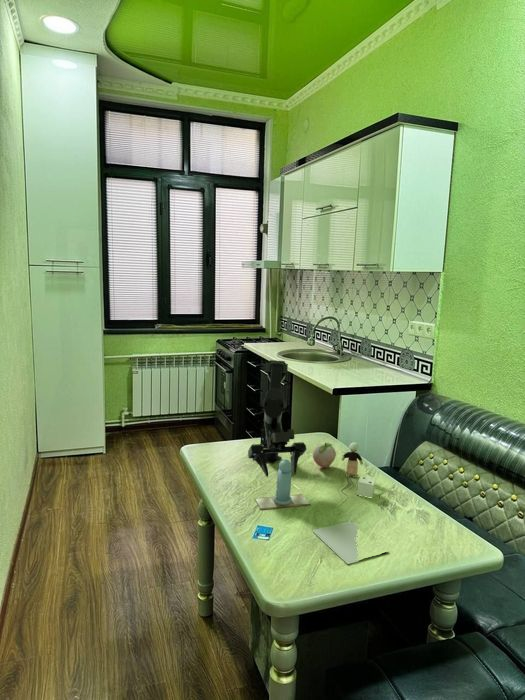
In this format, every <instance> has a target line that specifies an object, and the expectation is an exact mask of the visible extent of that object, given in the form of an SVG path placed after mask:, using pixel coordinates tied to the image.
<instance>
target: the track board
mask: <svg viewBox="0 0 525 700" xmlns="http://www.w3.org/2000/svg"><path fill="white" fill-rule="evenodd" d="M290 497H291V498H292V501H291V504H289V505H285V506H283V505H278V504H276V503H275V502H274V496H269V497H255V498H253V499H254V501H255V503H256V505H257V506H258V507H259V510H260V511H264V510H265V511H266V510H274V509H275V510H276V509H285V508H296V507H298V508H299V507H305V506H311V503H310V502H309V501H308V499H307V498H306V497H305V495H304V494H303V493H301V494H290Z"/></svg>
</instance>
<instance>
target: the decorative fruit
mask: <svg viewBox="0 0 525 700" xmlns="http://www.w3.org/2000/svg"><path fill="white" fill-rule="evenodd" d="M336 457H337V452H336V450H335V448H334V446H333V444H332V443H330V442H325V443H322V444H318V445H317V446H315V447H314V449H313V451H312V458H313V461H314V462H315V464H316V465H317V466H319V467H321V468H323V469H325V468H328V467H330V466H331V465H332V464H333V462H334V461H335V460H336Z"/></svg>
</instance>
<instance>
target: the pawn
mask: <svg viewBox="0 0 525 700" xmlns="http://www.w3.org/2000/svg"><path fill="white" fill-rule="evenodd" d="M292 475H293V471H292V465H291V460H288V459H281V461H280V462H279V464H278V469H277V479H276V493H275V495H274V496H273V497H274V502H275V503H276V504H278V505H283V506H285V505H289V504H291V501H292V498H291V497H290V495H291V488H292V487H291V486H292Z"/></svg>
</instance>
